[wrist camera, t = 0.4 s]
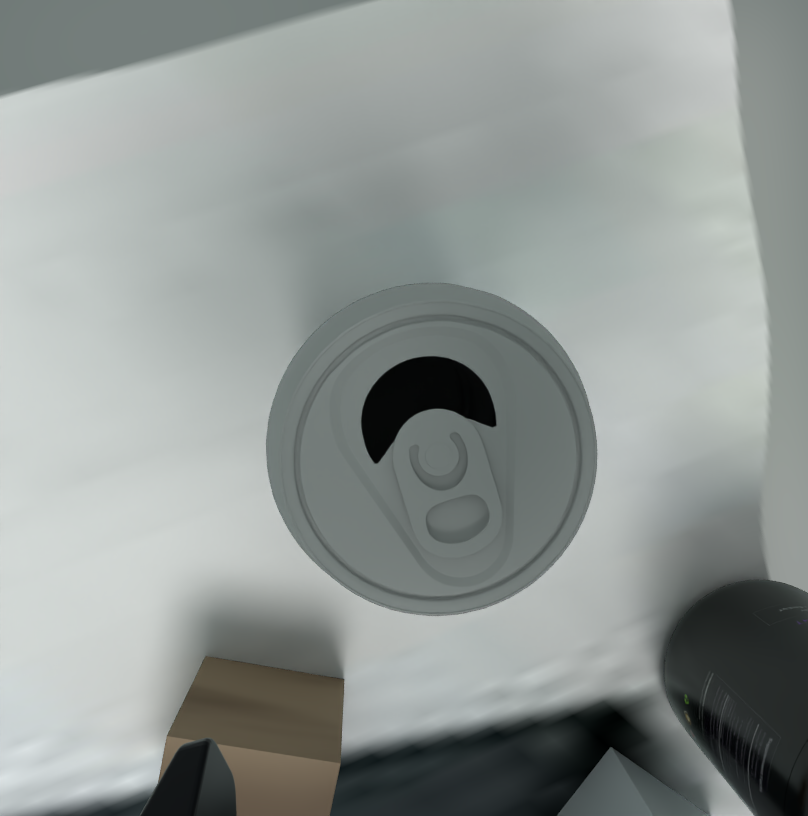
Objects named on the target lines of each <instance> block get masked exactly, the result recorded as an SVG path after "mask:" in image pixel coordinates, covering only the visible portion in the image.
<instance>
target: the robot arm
mask: <svg viewBox="0 0 808 816" xmlns="http://www.w3.org/2000/svg"><path fill="white" fill-rule="evenodd" d="M140 816H237V812H236V790H235V782H234V778H233V774H232V772H231V770H230V768H229V766H228V764H227V762H226V760H225V759H224V757H223V755H222V753H221V751H220V749H219V747H218V745H217V744H216V742H215V741H214V740H213V739H212V738H203V739H199V740H196V741H192V742H188V743H185V744H183V745H182V746H180V747H179V749H178V750H177V751H176V753H175V754H174V756H173V758H172V760H171V761H170V763H169V765H168V767H167V768H166V770H165V772H164V774H163V775H162V777H161V779H160V781H159V782H158V784H157V786H156V788H155V789H154V791H153V793H152V795H151V796H150V798H149V800H148V802H147V804H146V805H145V807H144V809H143V811H142V812H141V814H140Z"/></svg>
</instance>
